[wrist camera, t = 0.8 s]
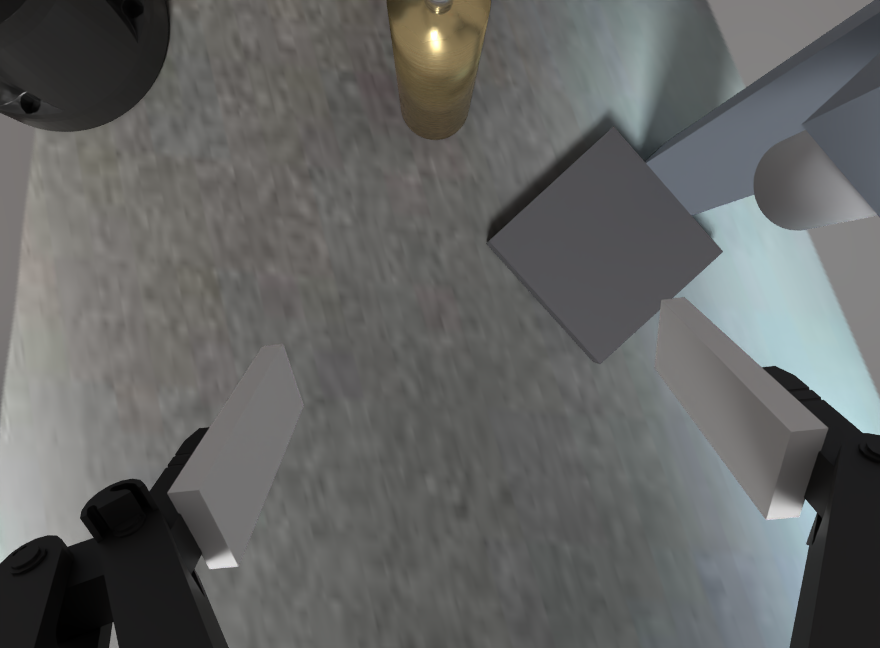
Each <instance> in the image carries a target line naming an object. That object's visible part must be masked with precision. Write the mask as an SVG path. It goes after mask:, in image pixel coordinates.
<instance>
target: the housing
mask: <svg viewBox="0 0 880 648" xmlns="http://www.w3.org/2000/svg"><path fill="white" fill-rule="evenodd" d="M490 6H491V0H387V9H388V16H389V24H390V31H391V38H392V46H393V53H394V60H395V68H396V75H397V83H398V90H399V97H400V105H401V112H402V115H403V118H404V120H405V122H406V124H407V125H408V127H409V128H410V129H411V130H412V131H413V132H414V133H416V134H417V135H419V136H421V137H423V138H426V139H431V140H440V139H444V138H447V137H450V136H452V135H453V134H455V133H456V132H457V131H458V130H459V129H460V128H461V127H462V126H463V124H464V123H465V121H466V118H467V116H468V111H469V107H470V102H471V97H472V92H473V88H474V83H475V78H476V74H477V69H478V64H479V60H480V55H481V50H482V45H483V41H484V36H485V31H486V27H487V22H488V17H489V12H490Z"/></svg>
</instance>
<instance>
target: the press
mask: <svg viewBox="0 0 880 648" xmlns="http://www.w3.org/2000/svg"><path fill="white" fill-rule="evenodd" d="M751 195H755V198H756V201H757V204H758V206H759V208H760V210H761V211H762V213H763V214H764V215H765V216H766V217H767V218H768V219H769V220H770V221H771V222H773V223H774V224H776V225H778V226H780V227H782V228H785V229H789V230H807V229H812V228H817V227H822V226H826V225H832V224H836V223H842V222H847V221H852V220H857V219H862V218H867V217H872V216H877V215H878V216H879V217H880V0H874V1H873V2H871V3H870V4H868V5H867V6H865V7H864V8H862V9H861V10H859V11H858V12H856V13H855V14H854V15H852V16H851V17H849V18H848V19H846V20H845V21H843V22H842V23H840V24H839V25H837V26H836V27H834V28H833V29H832V30H830V31H829V32H827V33H826V34H824V35H823V36H821V37H820V38H818V39H817V40H815V41H814V42H812V43H811V44H810V45H808V46H806V47H805V48H804V49H802V50H801V51H799V52H798V53H797V54H795V55H793V56H792V57H790V58H789V59H788V60H786V61H785V62H783V63H782V64H780V65H779V66H777V67H776V68H774V69H773V70H771V71H770V72H768V73H767V74H765V75H764V76H762V77H761V78H760V79H758V80H757V81H755V82H754V83H752V84H751V85H749V86H748V87H746V88H745V89H743V90H742V91H740V92H739V93H737V94H736V95H735V96H733V97H732V98H730V99H729V100H727V101H726V102H724V103H723V104H721V105H720V106H718V107H717V108H715V109H714V110H713V111H711V112H710V113H708V114H707V115H705V116H704V117H702V118H701V119H699V120H698V121H696V122H695V123H693V124H692V125H691V126H689V127H688V128H686V129H685V130H683V131H682V132H680V133H679V134H677V135H676V136H674V137H673V138H671V139H670V140H668V141H667V142H666V143H665V144H664V145H663V146H661V147H660V148H659V149H658V150H657V151H656V152H655V153H654V154H653V155H652V156H651V157H649V158H648V159H647V160H646V161H645V162H644V160H643V159H642V158H641V157H640V156H639V155H638V154H637V152H636V151H635V150H634V149H633V148H632V147H631V146H630V144H629V143H628V142H627V141H626V140H625V139H624V137H623V136H622V135H621V134H620V133H619V132H618V131H617V129H616V128H615V127H614V126H613V127H612V128H611V129H610V130H609V131H608V132H607V133H606V134H605V135H604V136H602V137H601V138H600V139H599V140H598V141H597V142H596V143H595V144H594V145H593V146H592V147H590V148H589V149H588V150H587V151H586V152H585V153H584V154H583V155H582V156H581V157H580V158H579V159H577V160H576V161H575V162H574V163H573V164H572V165H571V166H570V167H569V168H568V169H567V170H565V171H564V172H563V173H562V174H561V175H560V176H559V177H558V178H557V179H556V180H555V181H554V182H552V183H551V184H550V185H549V186H548V187H547V188H546V189H545V190H544V191H543V192H542V193H540V194H539V195H538V196H537V197H536V198H535V199H534V200H533V201H532V202H531V203H530V204H529V205H527V206H526V207H525V208H524V209H523V210H522V211H521V212H520V213H519V214H518V215H517V216H515V217H514V218H513V219H512V220H511V221H510V222H509V223H508V224H507V225H506V226H505V227H504V228H502V229H501V230H500V231H499V232H498V233H497V234H496V235H495V236H494V237H493V238H492V239H490V240H489V241H488V242H487V243H486V244H487V245H488V246H489V247H490V248H491V249H492V250H493V251H494V253H495V254H496V255H497V256H498V257H499V258H500V259H501V260H502V261H503V263H504V264H505V265H506V266H507V267H508V268H509V269H510V270H511V271H512V273H513V274H514V275H515V276H516V277H517V278H518V279H519V280H520V281H521V282H522V284H523V285H524V286H525V287H526V288H527V289H528V290H529V291H530V292H531V294H532V295H533V296H534V297H535V298H536V299H537V300H538V301H539V302H540V304H541V305H542V306H543V307H544V308H545V309H546V310H547V311H548V312H549V313H550V315H551V316H552V317H553V318H554V319H555V320H556V321H557V322H558V323H559V325H560V326H561V327H562V328H563V329H564V330H565V331H566V332H567V333H568V335H569V336H570V337H571V338H572V339H573V340H574V341H575V342H576V343H577V344H578V346H579V347H580V348H581V349H582V350H583V351H584V352H585V353H586V354H587V356H588V357H589V358H590V359H591V360H592V361H593V362H596V363H598V364H601V363H602V362H603V361H604V360H605V359H606V358H607V357H609V356H610V355H611V354H612V353H613V352H614V351H615V350H616V349H617V348H618V347H620V346H621V345H622V344H623V343H624V342H625V341H626V340H627V339H628V338H629V337H630V336H632V335H633V334H634V333H635V332H636V331H637V330H638V329H639V328H640V327H641V326H642V325H644V324H645V323H646V322H647V321H648V320H649V319H650V318H651V317H652V316H653V315H654V314H656V313H657V312H658V311H659V310H660V308H661V300H665V299H672V298H673V297H674V296H675V295H676V294H677V293H679V292H680V291H681V290H682V289H683V288H684V287H685V286H686V285H687V284H688V283H689V282H691V281H692V280H693V279H694V278H695V277H696V276H697V275H698V274H699V273H700V272H702V271H703V270H704V269H705V268H706V267H707V266H708V265H709V264H710V263H711V262H712V261H714V260H715V259H716V258H717V257H718V256H719V255H720V254H721V253H722V252H723V251H722V250H721V249H720V248H719V246H718V245H717V244H716V243H715V242H714V241H713V240H712V238H711V237H710V236H709V235H708V234H707V233H706V232H705V230H704V229H703V228H702V227H701V226H700V225H699V224H698V222H697V221H696V220H695V219H694V218H693V217H692V215H695V214H698V213H701V212H704V211H707V210H710V209H712V208H715V207H718V206H721V205H724V204H727V203H730V202H733V201H736V200H739V199H742V198H745V197H748V196H751Z"/></svg>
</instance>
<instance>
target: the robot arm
mask: <svg viewBox="0 0 880 648" xmlns="http://www.w3.org/2000/svg"><path fill="white" fill-rule="evenodd" d="M167 42H168V15H167V8H166V3H165V0H0V113H2V114H4V115H6V116H8V117H11V118H13V119H15V120H17V121H19V122H22V123H24V124H27V125H30V126H32V127H36V128H39V129H44V130H50V131H61V132H71V131H81V130H87V129H91V128H95V127H98V126H101V125H104V124H106V123H108V122H111V121H112V120H114V119H116V118H118V117H120V116H121V115H123V114H124V113H126V112H127V111H128V110H130V109H131V108H132V107H133V106H134V105H136V104H137V103H138V102H139V101H140V100H141V99H142V97H143V96H144V95H145V94H146V93H147V91H148V90H149V89H150V87H151V86H152V84H153V82H154V81H155V79H156V77H157V75H158V73H159V71H160V68H161V66H162V63H163V60H164V57H165V53H166V48H167ZM655 369H656V371H657V372H658V373H659V375H660V376H661V377H662V379H663V380H664V381H665V383H666V384H667V386H668V387H669V388H670V390H671V391H672V392H673V394H674V395H675V396H676V398H677V399H678V400H679V402H680V403H681V405H682V406H683V407H684V409H685V410H686V411H687V413H688V414H689V415H690V417H691V418H692V420H693V421H694V422H695V424H696V425H697V426H698V428H699V429H700V430H701V432H702V433H703V435H704V436H705V437H706V439H707V440H708V441H709V443H710V444H711V445H712V447H713V448H714V450H715V451H716V452H717V454H718V455H719V456H720V458H721V459H722V460H723V462H724V463H725V465H726V466H727V467H728V469H729V470H730V471H731V473H732V474H733V475H734V477H735V478H736V480H737V481H738V482H739V484H740V485H741V486H742V488H743V489H744V490H745V492H746V493H747V495H748V496H749V497H750V499H751V500H752V501H753V503H754V504H755V505H756V507H757V508H758V510H759V511H760V512H761V514H762V515H763V516H764V518H765V519H766V520H772V519H783V518H795V517H799V516H800V513H801V510H802V507H803V504H804V501H805V499H806V500H807V501H808V503H809V504H810V505H811V506H812V507H813V508H814V510H815V511H816V512H817V515H816V517H815V520H814V523H813V526H812V529H811V532H810V534H809V537H808V540H807V543H806V544H807V545H809V550H808V555H807V560H806V565H805V570H804V575H803V581H802V586H801V591H800V596H799V601H798V607H797V612H796V617H795V622H794V627H793V632H792V638H791V643H790V648H880V435H875V434H869V433H862V432H861V431H860V430H859V429H857V428H856V427H855V426H854V425H853V424H852V423H850V422H849V421H848V420H847V419H846V418H844V417H843V416H842V415H841V414H840V413H839V412H837V411H836V410H835V409H834V408H833V407H831V406H830V405H829V404H828V403H827V402H826V401H824V400H821V397H820V396H819V395H817V394H816V393H815V392H814V391H813V390H809V387H808V386H807V385H806V384H804V383H803V382H802V381H801V380H800V379H798V378H797V377H796V376H795V375H793V374H791V373H789V372H787V371H784V370H782V369H780V368H778V367H776V366H771V367H761V366H760V365H758V364H757V363H756V362H755V361H754V360H753V359H752V358H751V357H750V356H749V355H748V354H746V353H745V352H744V351H743V350H742V349H741V348H740V347H739V346H738V345H737V344H735V343H734V342H733V341H732V340H731V339H730V338H729V337H728V336H727V335H726V334H724V333H723V332H722V331H721V330H720V329H719V328H718V327H717V326H716V325H715V324H713V323H712V322H711V321H710V320H709V319H708V318H707V317H706V316H705V315H704V314H702V313H701V312H700V311H699V310H698V309H697V308H696V307H695V306H694V305H693V304H691V303H690V302H689V301H688V300H687V299H686V298H685V297H682V298H673V299H665V300H661V308H660V318H659V328H658V338H657V349H656V359H655ZM303 406H304V405H303V402H302V399H301V396H300V393H299V390H298V387H297V384H296V381H295V378H294V375H293V372H292V369H291V366H290V363H289V359H288V356H287V353H286V350H285V347H284V344H276V345H268V346H262V347H261V349H260V350H259V352H258V353H257V355H256V357H255V358H254V360H253V361H252V363H251V364H250V366H249V367H248V369H247V370H246V372H245V374H244V375H243V377H242V378H241V380H240V381H239V383H238V384H237V386H236V387H235V389H234V391H233V392H232V394H231V395H230V397H229V398H228V400H227V401H226V403H225V404H224V406H223V408H222V409H221V411H220V412H219V414H218V415H217V417H216V418H215V420H214V421H213V423H212V425H211V426H210V427H208V428H199V429H198V430H197V431H196V432H194V433H193V434H192V435H191V436H190V437H189V438H187V439H186V440H185V441H184V442H183V444H182V445H181V447H180V448H179V450H178V451H177V453H176V454H175V455H176V456H175V457H173V458H172V460H171V461H170V463H169V464H168V468H165V470H164V471H163V473H162V474H161V476H160V477H159V479H158V480H157V481H156V483H155V484H154V486H153V487H152V489H151V490H150V492H149V491H148V489H147V487H146V485H145V484H144V483H143V482H142V481H141V480H137V479H128V480H123V481H120V482H117V483H115V484H112V485H110V486H108V487H106V488H105V489H103V490H101V491H100V492H98V493H97V494H96V495H95V496H94V497H92V498H91V499H90V500H89V501H88V502H87V504H86V505H85V506H84V508H83V509H82V511H81V517H80V519H81V520H82V522H83V523H84V525H85V526H86V527H87V529H88V530H89V532H90V533H91V534H92V536H93V537H94V538H92V539H89V540H86V541H83V542H80V543H77V544H75V545H72V546H69V547H67V546H66V544H65V543H64V542H63V540H62V539H60V538H59V537H58V536H50V535H47V536H44V537H40V538H37V539H34V540H32V541H30V542H28V543H26V544H24V545H22V546H21V547H19V548H18V549H17V550H15V551H14V552H12V553H11V554H10V555H9V556H8V557H7V558H6V559H5V560H4V561H3V562H1V563H0V648H109V644H110V637H111V630H112V622H114V625H115V630H116V635H117V640H118V645H119V648H229V647H228V645H227V643H226V640H225V638H224V635H223V633H222V631H221V628H220V626H219V623H218V621H217V619H216V616H215V614H214V612H213V609H212V607H211V604H210V602H209V600H208V597H207V595H206V593H205V590H204V588H203V585H202V583H201V581H200V578H199V576H198V574H197V573H196V571H195V569H194V568H195V566H196V564H197V562H198V560H199V558H200V556H201V554H202V556H203V558H204V560H205V561H206V563H207V565H208V567H209V569H215V568H227V567H238V566H239V564H240V561H241V559H242V557H243V554H244V552H245V549H246V547H247V544H248V542H249V539H250V537H251V534H252V532H253V529H254V527H255V525H256V522H257V520H258V517H259V515H260V512H261V510H262V507H263V505H264V502H265V500H266V497H267V495H268V493H269V490H270V488H271V485H272V483H273V480H274V478H275V475H276V473H277V470H278V468H279V465H280V463H281V461H282V458H283V456H284V453H285V451H286V448H287V446H288V443H289V441H290V438H291V436H292V433H293V431H294V429H295V426H296V424H297V421H298V419H299V416H300V414H301V411H302V409H303Z"/></svg>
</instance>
